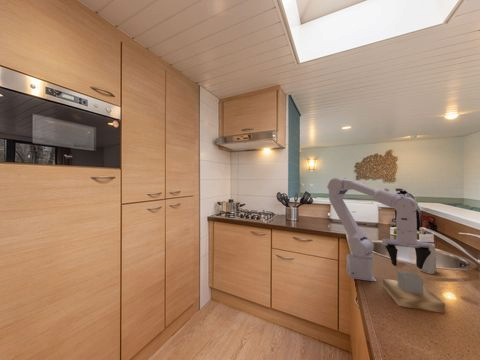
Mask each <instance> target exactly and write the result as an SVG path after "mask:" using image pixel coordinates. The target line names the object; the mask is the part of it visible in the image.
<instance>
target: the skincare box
mask: <svg viewBox="0 0 480 360" xmlns="http://www.w3.org/2000/svg"><path fill="white" fill-rule="evenodd" d="M432 244H433V250H430V249H429V250H430V251H431V254H430V255H429V256H428V257H427V259H426V260H425V262H424V264H423V267H422V269H419V270H420V272H423V273H426V274H429V275H434V274H436V272H437V262H436V261H437V258H436V255H437V254H436V244H434V243H432Z"/></svg>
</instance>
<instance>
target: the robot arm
mask: <svg viewBox="0 0 480 360" xmlns="http://www.w3.org/2000/svg"><path fill="white" fill-rule="evenodd" d="M326 188H327V189H328V199H329V202H330V205H331V206H332V208H333V209H334V211H335V213H336V215H337V217H338V219H339V221H340V223H341V224H342V226H343V228H344V229H345V231H346V233H347V235H348V239H347V242H348V244H349V248H350V251H351V253H347V254H346V268H345V270H346V272H347V275H348V277H349V278H350V279H353V280H362V281H369V282H377V279H376V278H375V276H373V253H372V252H374V249H375V245H374V242H373V241H372V240H371V239H370V238H369V237H368V236H367V234H366V233H364V232H363V231H362V230H361V229H360V227H359V225H358V224H357V222H356V220H355V218H354V217H353V215H352V213H351V211H350V209H349V208H348V207H347V204H346V203H345V201H344V200H343V199H344V197H345V194H346V193H347V192H348V191H349V190H350V191H351V190H353V191H356V192H359V193H361V194H364V195H368V196H370V197H372V198H373V200H374V201H375V202H377V203H379V204H381V205H385V206H386V207H389V208H392V209H395V211H396V216H395V217H396V218H395V221H396V222H395V223H396V227H395V228H396V230H395V231H396V238H393V239H392V238H382V239H381V240H382V241H381V243H382V245H383V246H384V247H385V249H386V250H387V253H388V255H389V257H390V262H391V264H392V265H393V267H397V265H398V264H397V263H398V260H397V259H398V258H397V257H398V249H397V248H396V247H404V248H414V251H415V256H416V257H415V259H416V260H415V262H416V263H415V264H416V267H417V268H418V269H419V270H420V269H422V267H423V264H424V262H425V260H426V259H427V257H428V256H429V255H430V254H431V251H430V250H433V244H434V243H431V242H426V241H425V242H424V241H419V240H418V235H417V234H418V229H417V228H418V224H417V223H418V221H417V220H418V219H417V211H416V210H417V209H418V207H419V203H418V202H417V200H416V199H414V198H413V197H411V196H405V195H404V194H402V193H400V194H399V193H397V192H394V191H391V190H390V188H388V187H385V188H383V187H382V188H378V189H376V188H373V187H371V186H368V185H366V184H364V183H361V182H360V181H356V180H353V179H349V178H346V177H342V178H338V177H333V178H331V179H330V180H329V182H328V184H327V187H326ZM429 249H430V250H429Z"/></svg>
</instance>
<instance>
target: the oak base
mask: <svg viewBox="0 0 480 360" xmlns="http://www.w3.org/2000/svg"><path fill="white" fill-rule="evenodd" d="M382 287H383V289H384V290H385V291H386V292H387V293H388V295H389V297H391V298H392V299H393V301H394V302H395V303H396V305H397V306H399V307H404V308H412V309H416V310H424V311H429V312H435V313H436V312H437V313H443V314H445V313H446V307H445V306H446V304H445V302H444V301H443V300H441V298H439V297H438V296H436V295H435V294H434V293H433V292H432V291H430V290H429V289H428V288H427V286H425V285H423V295H422V294H414V293H406V292H405V291H404V290H403V289H402V288H401V287H400V286H399V285H398V279H397V280H396V279H389V278H388V279H386V278H382Z"/></svg>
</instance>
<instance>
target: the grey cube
mask: <svg viewBox="0 0 480 360" xmlns="http://www.w3.org/2000/svg"><path fill="white" fill-rule="evenodd" d="M397 281H398V285H399V286H400V287H401V288H402V289H403V290H404V291H405V292H406V293H414V294H422V295H423V286H424V279H423V278H422V277H421V276H419V275H418V274H417V273H415V272H411V271H410V272H408V271H401V270H400V271H399V270H397Z"/></svg>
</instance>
